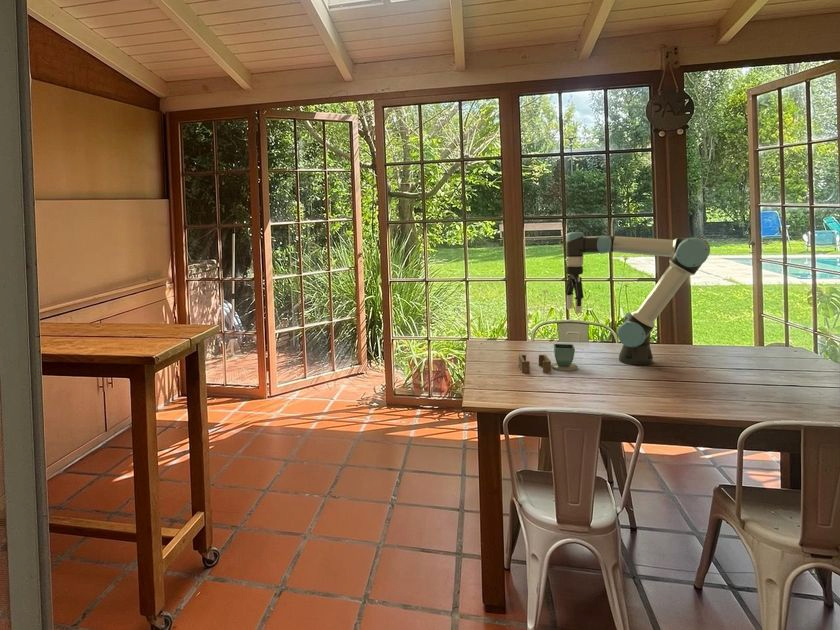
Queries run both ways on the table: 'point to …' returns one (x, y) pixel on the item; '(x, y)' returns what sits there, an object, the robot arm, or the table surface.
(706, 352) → the table surface
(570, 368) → the olive beige round disc
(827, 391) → the table surface
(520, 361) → the frame
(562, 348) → the flower pot
